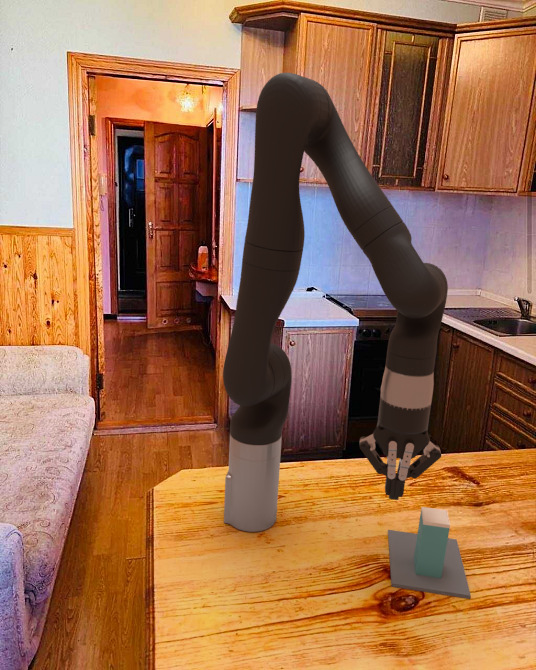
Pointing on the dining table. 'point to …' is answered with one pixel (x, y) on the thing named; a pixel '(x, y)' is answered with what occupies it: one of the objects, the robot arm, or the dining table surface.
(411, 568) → the mat
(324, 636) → the dining table surface
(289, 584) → the dining table surface
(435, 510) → the block
